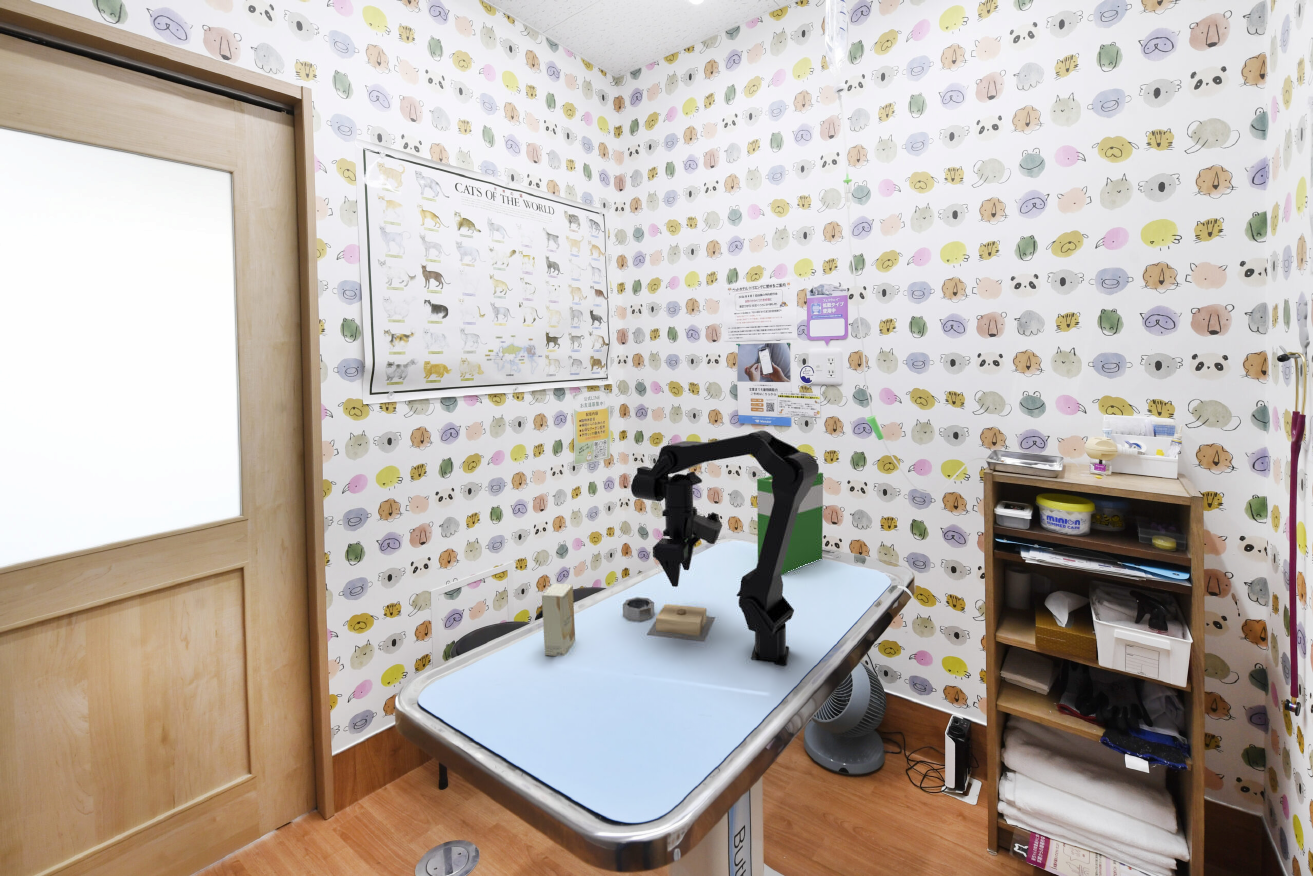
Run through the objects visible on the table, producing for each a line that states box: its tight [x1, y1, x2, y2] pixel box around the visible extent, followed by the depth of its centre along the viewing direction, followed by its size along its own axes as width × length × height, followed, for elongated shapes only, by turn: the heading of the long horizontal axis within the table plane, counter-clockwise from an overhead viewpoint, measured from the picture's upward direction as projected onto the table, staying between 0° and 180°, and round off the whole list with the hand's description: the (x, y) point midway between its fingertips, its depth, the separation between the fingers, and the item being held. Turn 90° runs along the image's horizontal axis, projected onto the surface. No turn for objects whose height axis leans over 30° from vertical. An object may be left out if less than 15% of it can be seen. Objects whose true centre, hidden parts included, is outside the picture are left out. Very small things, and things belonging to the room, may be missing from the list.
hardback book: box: [756, 472, 824, 576], centre depth 157 cm, size 18×7×24 cm, turn 128°
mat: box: [646, 615, 716, 642], centre depth 123 cm, size 11×12×1 cm
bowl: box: [622, 596, 655, 623], centre depth 129 cm, size 6×6×3 cm
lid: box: [655, 603, 707, 636], centre depth 123 cm, size 7×9×3 cm
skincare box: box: [541, 583, 576, 657], centre depth 115 cm, size 6×4×12 cm
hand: (681, 577), depth 122 cm, fingers open, 9 cm apart
